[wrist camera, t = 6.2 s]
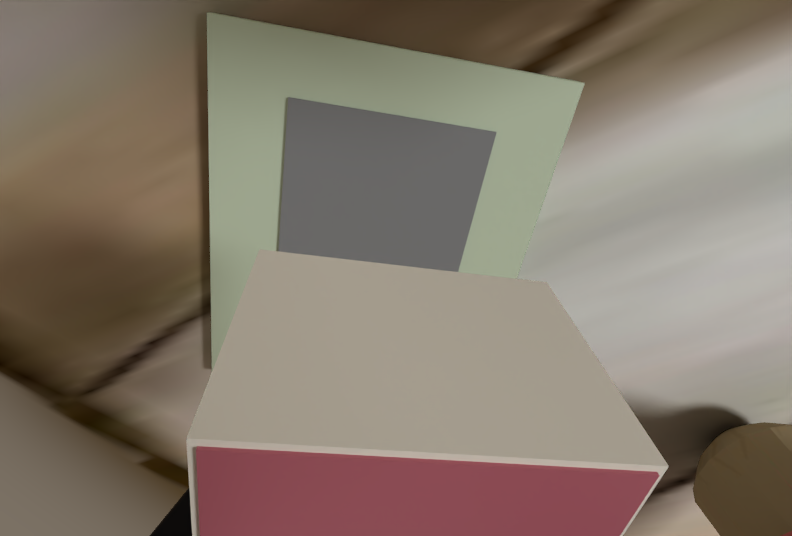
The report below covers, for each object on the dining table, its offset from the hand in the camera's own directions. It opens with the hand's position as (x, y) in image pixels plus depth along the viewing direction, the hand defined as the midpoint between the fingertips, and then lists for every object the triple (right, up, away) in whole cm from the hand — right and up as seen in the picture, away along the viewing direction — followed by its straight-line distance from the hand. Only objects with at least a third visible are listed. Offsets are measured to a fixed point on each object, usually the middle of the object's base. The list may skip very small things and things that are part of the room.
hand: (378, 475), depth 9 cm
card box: (0, +1, +1) cm, 1 cm away
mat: (-1, +5, +9) cm, 11 cm away
